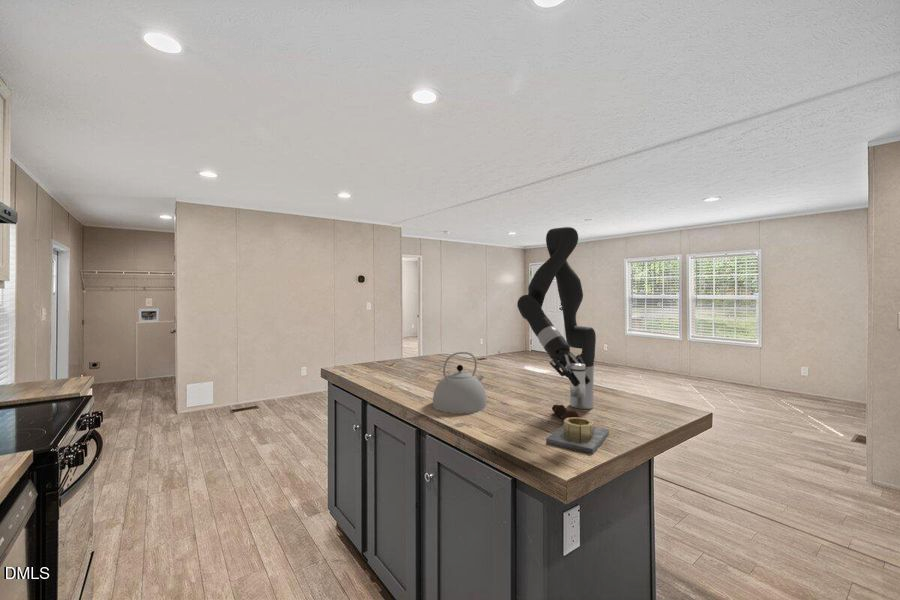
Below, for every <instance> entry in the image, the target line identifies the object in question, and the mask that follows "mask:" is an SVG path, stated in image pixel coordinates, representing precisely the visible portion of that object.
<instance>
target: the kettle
mask: <svg viewBox="0 0 900 600" xmlns="http://www.w3.org/2000/svg"><path fill="white" fill-rule="evenodd" d="M460 354H461V355H463V354H464V355H469V356H471V358H472V359H473V361H474V369H473V372H472V374H471V373H469V372H464V371H463V370H464V366H463V365H461V364H458V365H457V366H456V369H457V371H455V372H452V373H451V372H450V373H448V374H446V366H447V363H448V361H449V360H450V359H451V358H452V357H454V356H456V355H457V356H458V355H460ZM477 365H478V364H477V359H476V357H475V355H474V354H473V353H471V352H468V351H458V352H454V353H452V354H450V355H449V356H448V357H447V358H446V360H445V361H444V364H443V366H442V367H443V369H442V373H443V378H442V379H441V380H440V381H439V382H438V383H437V384H436V385H435V388H434V392H433V395H432V408H433V407H434V408H436V409H438V410H440V411H439V412H441V411H444V412H443V413H446V412H451V413H450V414H455V413H467V414H474V412H475V413H479V411H480V412H482V411H484V410H486V409H487V408H488V404H487V402H488V401H487V400H488V399H487V394H486V393H487V392H486V390H485V387H484V386H483V383H481V382H482V380H483V379H484V377H485V375H482V374H478V375H477V376H475V374H476V371H477V367H478V366H477ZM486 407H487V408H486ZM485 408H486V409H485ZM436 409H435V410H436ZM438 410H437V411H438Z"/></svg>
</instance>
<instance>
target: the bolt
mask: <svg viewBox="0 0 900 600" xmlns="http://www.w3.org/2000/svg"><path fill="white" fill-rule="evenodd" d="M551 411H552V413H554V415H555V416H556V417H557V418H562V419H563V421H564V420H565V419H566V418H571V417H579V418H580V416H579V414H578V413H577V411H576V410H567V409H566V407H565V406H564V404H553V405H552V407H551Z"/></svg>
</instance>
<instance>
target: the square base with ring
mask: <svg viewBox="0 0 900 600" xmlns="http://www.w3.org/2000/svg"><path fill="white" fill-rule="evenodd" d="M609 434H610V429H608V428H603V427H597V426H595V423H594V422H593V420H590V419H588V418H584V417H580V416H579V417H571V418H566V419H565V420H563V424H562V425H561V426H560V427H558V428H557V429H556V430H555V431H554V432H552V433H551V434H550V435H549V436H548V437H546V438H545V444H547V445H551V446H555V447H560V448H565V449H569V450H573V451H577V452H581V453H585V452H586V453H587V454H590V453H591V454H590V455H593V454H594V453H595V452H596V451H597V450H598V448H599V447H600V446H601V444H602V443H603V442H604V441H605V440H606V439H607V437H608V436H609Z"/></svg>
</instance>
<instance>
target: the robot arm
mask: <svg viewBox="0 0 900 600" xmlns="http://www.w3.org/2000/svg"><path fill="white" fill-rule="evenodd" d="M578 242H579V233H578V231H577V230H576V229H575V228H574V227H572V226H564V227H556V228H551V229H549V230H548V231H547V233H546V236H545V243H546V244H545V245H546V249H547V251H548V255H549V258H548V259H547V260H546V261H545V262H544V263H543V264H542V265H540V267H539V268H538V269H537V270H536V271H535V273H534V275H533V277H532V278H531V281H530V283H529V284H528V288H527V291H528V292H527V294H524V295H521V296H520V297H519V298H518V300H517V303H516V306H517V309H518V311H519V313H520V315H521V317H522V318H523V319H524V320H526V322H528V323H529V327H530V328H531V330H532V331H533V333H534V334H535V336H536V337H537V340H538V341H539V343H540V344H541V346H542V347H543V349H544V351H545V352H546V353H547V355H548V356H549V358H550V359H551V360H550V362H549V364H550V365H551V367H552V368H553V369H554V370H555V371H556V372H557V373H558V375H560V376H561V377H564V376H565V377H566V378H567V379H568V380H569V381H571V383H572V384H573V385H574V386H575V387H576V386H578V385H579V384H580V381H579V380H578V379H577V377H576V376H575V374H574V373H573V372H572V370H571V365H570V364H572V363H580V364H585V368H586V371H585V397H573V396H571V395H570V394H569V406H570V407H572V408H573V409H574V408H575V409H581V410H589V409H593V408H594V386H595V385H594V382H595V381H594V379H595V378H594V377H595V376H594V364H595V363H594V362H595V356H596V341H597V334H596V331H595V329H594V328H593V327H591V326H580V325H578V324H577V313H578V310H579V309H580V307H581V304H582V302H583V299H584V292H583V286H582V282H581V279H580V277H579V276H578V274H577V273H576V271H575V270H574V269H573V267H572V266H571V265H570V264H569V262H568V259H569V256H571V255H572V253H573V251H574V250H575V249H576V247H577V246H578V245H577V244H578ZM554 278H555V281H556V285H557V291H558V292H557V293H558V295H559V296H558V297H559V300H560V304H561V305H560V306H561V310H562V316H563V324H564V331H565V332H564V333H565V338H564V336H563V335H562V334H561V332H560V331H559V330H558V328H556V327H555V326H554V323H552V321H551V320H550V318H549V317H548V316H547V315H546V313H545V312H544V310H543V305H544V304H543V303H544V301H545V298H546V294H547V293H548V291H549V290H550V289H549V288H551V285H552V283H553V281H554ZM571 348H575V349H580V350H581V353H580V354H578V355H574V353H572V352H571Z"/></svg>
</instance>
